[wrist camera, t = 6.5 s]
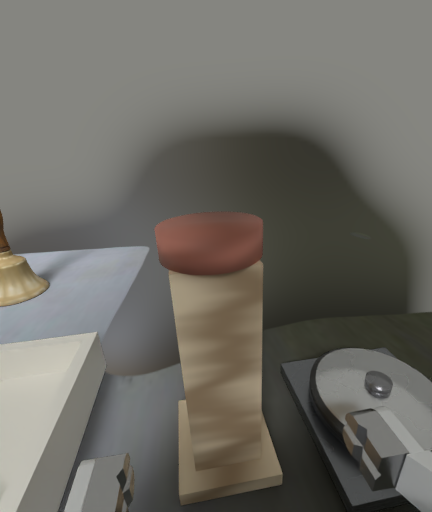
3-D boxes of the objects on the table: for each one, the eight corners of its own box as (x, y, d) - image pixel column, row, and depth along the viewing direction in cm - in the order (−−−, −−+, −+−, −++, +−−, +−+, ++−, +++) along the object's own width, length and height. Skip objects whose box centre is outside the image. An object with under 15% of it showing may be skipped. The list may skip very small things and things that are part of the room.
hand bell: (60, 280, 44) (30, 184, 38) (21, 307, 36) (-24, 192, 30) (17, 280, 45) (-19, 186, 39) (-31, 307, 37) (-84, 195, 31)
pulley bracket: (349, 516, 14) (359, 477, 13) (280, 372, 23) (282, 341, 22) (510, 479, 15) (534, 440, 14) (382, 355, 24) (389, 325, 23)
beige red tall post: (180, 505, 15) (133, 251, 9) (179, 409, 20) (150, 215, 14) (281, 484, 15) (297, 234, 10) (254, 397, 21) (253, 206, 15)
